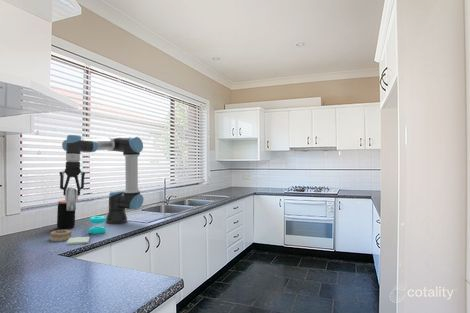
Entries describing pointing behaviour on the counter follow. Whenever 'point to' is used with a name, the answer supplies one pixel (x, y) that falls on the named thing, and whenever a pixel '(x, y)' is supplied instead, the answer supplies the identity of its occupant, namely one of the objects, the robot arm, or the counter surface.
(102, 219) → the donuts
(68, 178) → the robot arm
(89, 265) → the counter surface
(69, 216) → the coffee jar
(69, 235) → the collar
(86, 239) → the board
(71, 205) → the plug
